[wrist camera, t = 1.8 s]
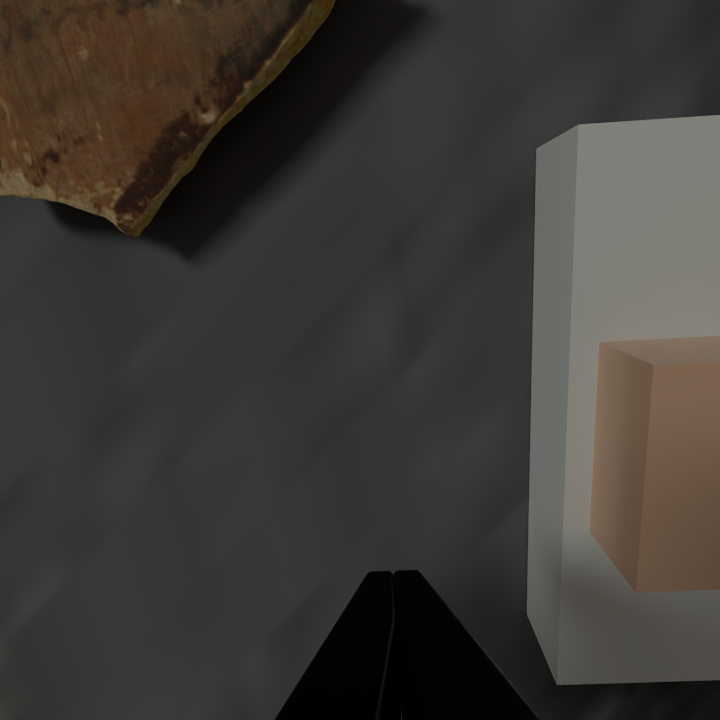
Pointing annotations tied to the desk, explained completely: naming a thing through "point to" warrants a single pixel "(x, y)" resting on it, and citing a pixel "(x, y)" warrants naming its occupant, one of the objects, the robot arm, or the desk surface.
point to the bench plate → (580, 371)
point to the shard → (131, 92)
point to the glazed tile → (659, 462)
